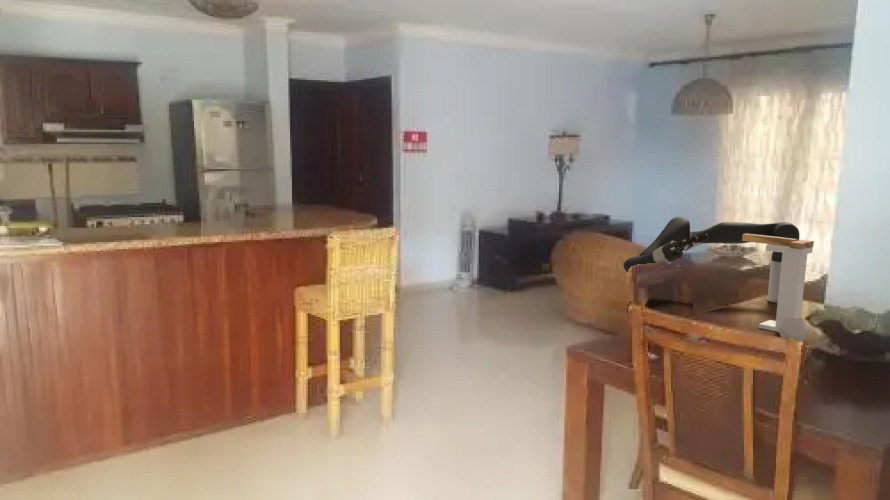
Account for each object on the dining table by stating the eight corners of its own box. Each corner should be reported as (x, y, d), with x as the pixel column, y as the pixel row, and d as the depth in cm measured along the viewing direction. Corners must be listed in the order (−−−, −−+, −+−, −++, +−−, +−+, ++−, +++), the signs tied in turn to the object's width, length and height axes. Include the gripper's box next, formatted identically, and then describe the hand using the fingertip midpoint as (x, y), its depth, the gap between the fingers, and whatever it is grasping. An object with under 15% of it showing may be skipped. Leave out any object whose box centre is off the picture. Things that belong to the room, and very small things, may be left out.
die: (807, 342, 228) (791, 315, 232) (818, 336, 220) (802, 308, 223) (784, 352, 228) (768, 324, 231) (795, 346, 219) (778, 318, 223)
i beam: (769, 323, 249) (777, 242, 245) (804, 330, 241) (812, 246, 236) (758, 327, 243) (766, 244, 239) (793, 335, 235) (802, 249, 230)
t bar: (749, 239, 252) (750, 232, 252) (813, 246, 236) (814, 239, 236) (737, 241, 246) (738, 234, 245) (802, 249, 230) (802, 242, 229)
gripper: (680, 260, 275) (715, 244, 263) (661, 264, 265) (696, 247, 254) (673, 243, 276) (707, 226, 265) (654, 247, 267) (688, 229, 255)
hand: (702, 237), depth 259 cm, fingers open, 8 cm apart
